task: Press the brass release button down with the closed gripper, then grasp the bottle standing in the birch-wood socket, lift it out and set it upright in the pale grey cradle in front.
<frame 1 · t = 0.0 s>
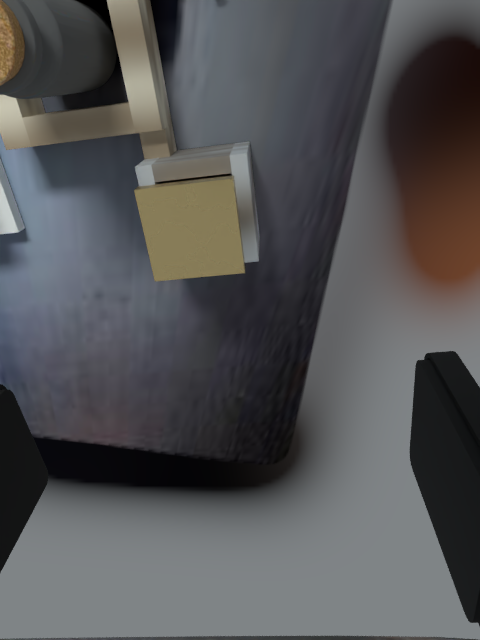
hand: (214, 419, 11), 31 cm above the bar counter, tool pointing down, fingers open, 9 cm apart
release button: (197, 220, 33), point 7 cm above the bar counter, slide at 0.0 cm
socket block: (78, 48, 35), on the bar counter
bottle: (79, 48, 35), resting in socket block
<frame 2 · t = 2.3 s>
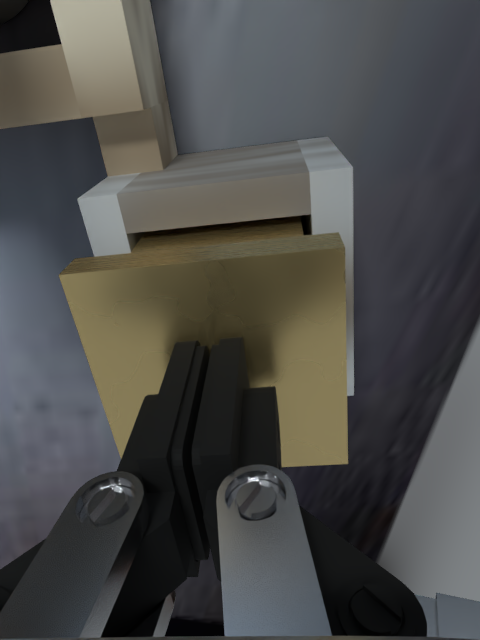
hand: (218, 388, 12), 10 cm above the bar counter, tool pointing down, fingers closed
release button: (227, 321, 14), point 7 cm above the bar counter, slide at 0.1 cm, touching gripper
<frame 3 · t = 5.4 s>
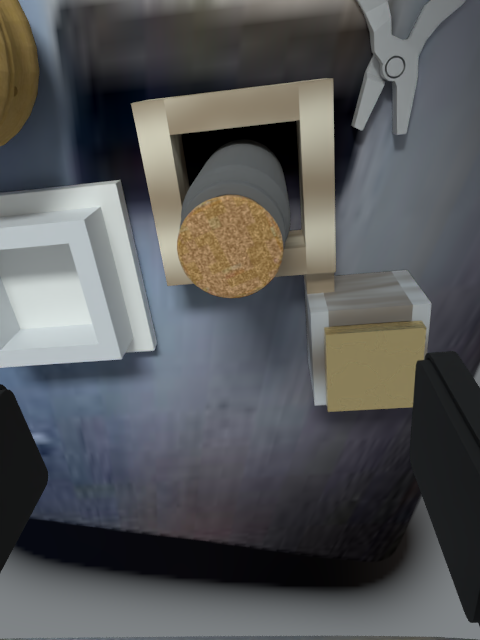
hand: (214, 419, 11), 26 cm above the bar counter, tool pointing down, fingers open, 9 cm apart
release button: (365, 349, 34), point 5 cm above the bar counter, slide at 2.2 cm
socket block: (243, 181, 33), on the bar counter
pliers: (403, 0, 28), on the bar counter
bottle: (243, 180, 34), resting in socket block
cradle: (57, 276, 38), on the bar counter
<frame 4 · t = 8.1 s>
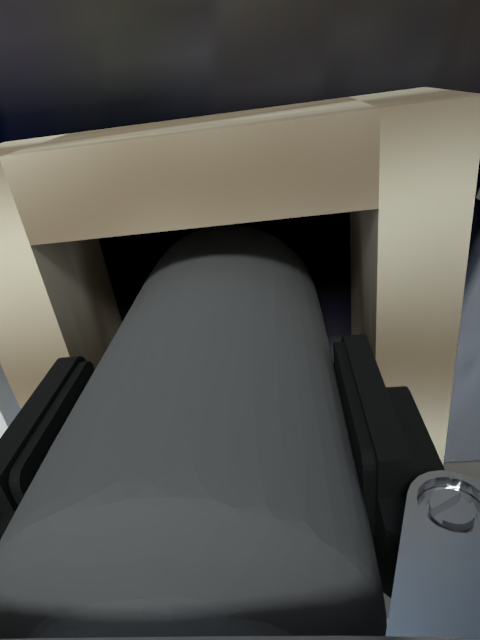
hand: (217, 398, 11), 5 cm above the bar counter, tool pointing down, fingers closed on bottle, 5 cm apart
socket block: (232, 305, 16), on the bar counter
bottle: (232, 302, 16), resting in socket block, touching gripper
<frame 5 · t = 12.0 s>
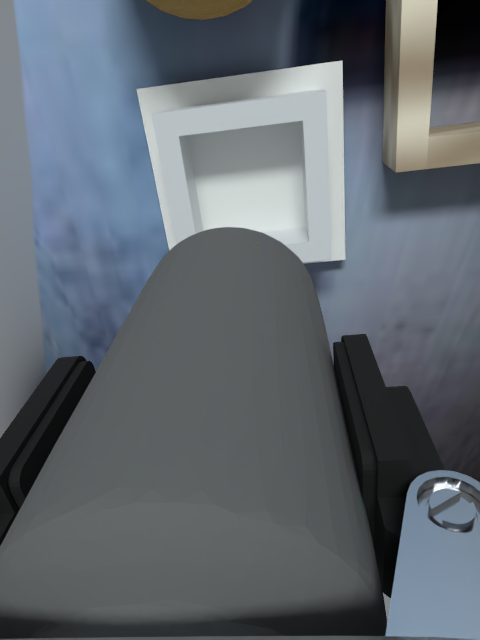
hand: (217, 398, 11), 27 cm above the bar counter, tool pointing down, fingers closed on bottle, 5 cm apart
socket block: (475, 59, 31), on the bar counter
bottle: (232, 304, 16), point 22 cm above the bar counter, touching gripper
cradle: (249, 177, 35), on the bar counter
when the fingers open (7 cm above the bar counter, at t = 16.2 s): bottle stays where it is, resting on cradle.
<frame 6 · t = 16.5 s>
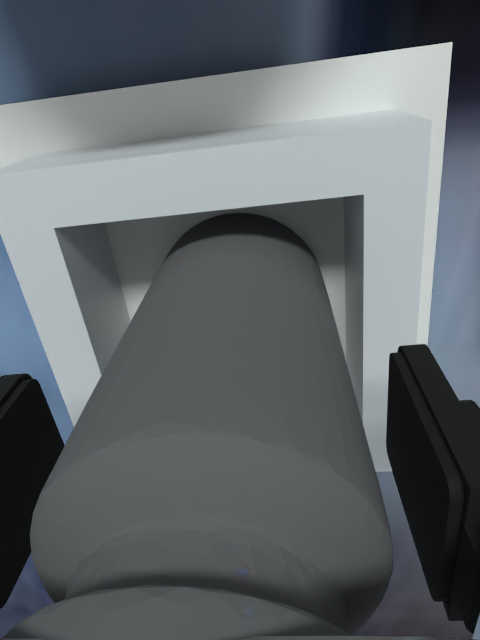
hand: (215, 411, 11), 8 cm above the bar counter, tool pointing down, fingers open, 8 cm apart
bottle: (241, 288, 17), point 1 cm above the bar counter, touching cradle
cradle: (234, 280, 18), on the bar counter
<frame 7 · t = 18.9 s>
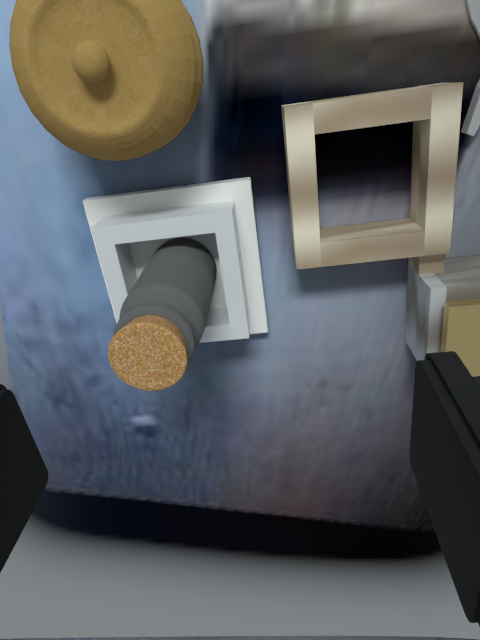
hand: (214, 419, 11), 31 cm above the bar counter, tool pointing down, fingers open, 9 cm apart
release button: (473, 322, 38), point 5 cm above the bar counter, slide at 2.2 cm
socket block: (361, 175, 38), on the bar counter
pot: (131, 67, 35), on the bar counter
bottle: (184, 268, 41), point 1 cm above the bar counter, touching cradle
cradle: (182, 265, 42), on the bar counter
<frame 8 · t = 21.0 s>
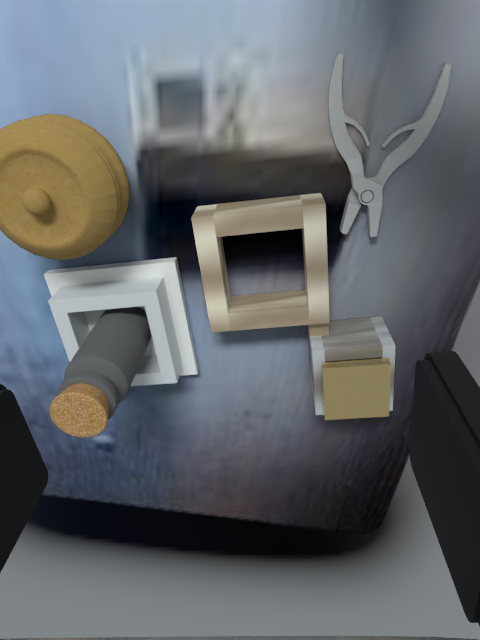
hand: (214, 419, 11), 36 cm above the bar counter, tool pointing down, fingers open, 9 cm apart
release button: (351, 375, 48), point 5 cm above the bar counter, slide at 2.2 cm
socket block: (264, 257, 47), on the bar counter
pot: (79, 177, 44), on the bar counter
pliers: (372, 151, 42), on the bar counter
bottle: (127, 324, 51), point 1 cm above the bar counter, touching cradle
cradle: (127, 321, 52), on the bar counter
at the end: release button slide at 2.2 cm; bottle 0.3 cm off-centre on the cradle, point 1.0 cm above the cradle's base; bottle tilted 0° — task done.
